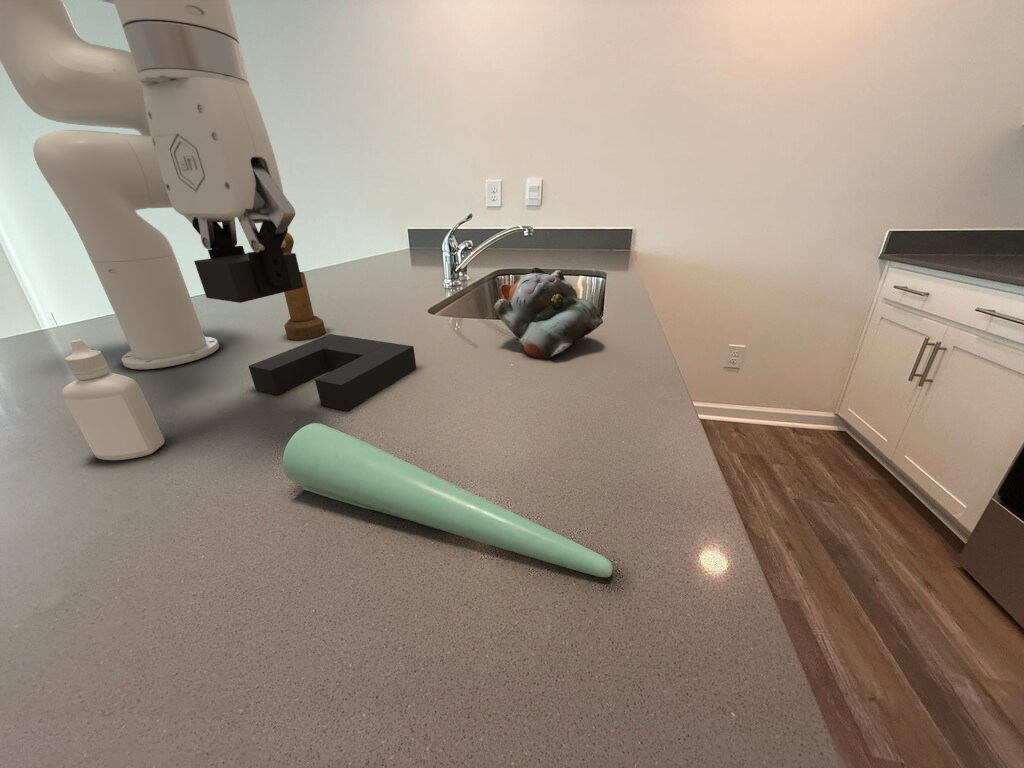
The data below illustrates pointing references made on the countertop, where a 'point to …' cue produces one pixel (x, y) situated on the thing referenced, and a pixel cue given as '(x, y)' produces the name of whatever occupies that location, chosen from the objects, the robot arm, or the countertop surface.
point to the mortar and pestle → (300, 308)
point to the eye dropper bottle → (109, 408)
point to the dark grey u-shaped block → (336, 369)
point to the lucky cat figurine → (546, 313)
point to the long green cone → (421, 497)
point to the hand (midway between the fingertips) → (256, 288)
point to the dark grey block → (238, 277)
